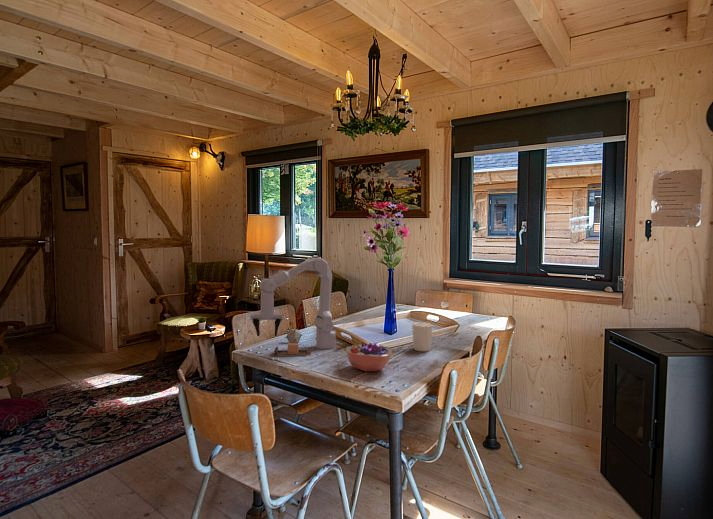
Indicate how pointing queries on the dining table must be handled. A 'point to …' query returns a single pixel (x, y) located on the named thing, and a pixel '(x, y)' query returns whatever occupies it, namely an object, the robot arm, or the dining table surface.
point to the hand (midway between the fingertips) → (267, 335)
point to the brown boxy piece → (287, 352)
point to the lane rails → (290, 355)
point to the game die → (293, 335)
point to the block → (292, 348)
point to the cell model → (368, 356)
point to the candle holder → (422, 336)
